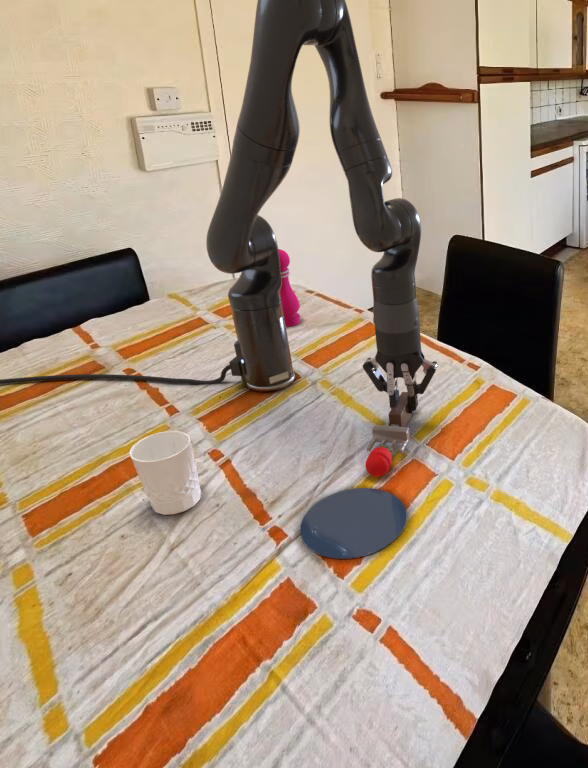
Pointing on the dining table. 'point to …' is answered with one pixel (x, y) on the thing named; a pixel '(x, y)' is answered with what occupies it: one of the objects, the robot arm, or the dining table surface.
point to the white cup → (167, 471)
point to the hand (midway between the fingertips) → (404, 410)
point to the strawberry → (378, 461)
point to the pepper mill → (288, 293)
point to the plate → (353, 523)
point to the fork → (394, 427)
